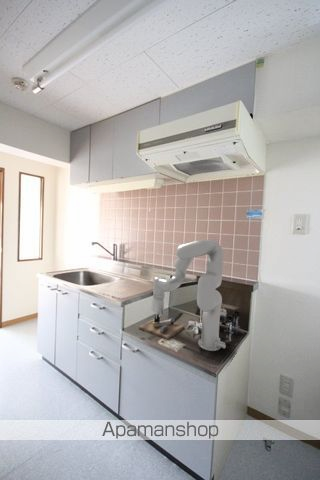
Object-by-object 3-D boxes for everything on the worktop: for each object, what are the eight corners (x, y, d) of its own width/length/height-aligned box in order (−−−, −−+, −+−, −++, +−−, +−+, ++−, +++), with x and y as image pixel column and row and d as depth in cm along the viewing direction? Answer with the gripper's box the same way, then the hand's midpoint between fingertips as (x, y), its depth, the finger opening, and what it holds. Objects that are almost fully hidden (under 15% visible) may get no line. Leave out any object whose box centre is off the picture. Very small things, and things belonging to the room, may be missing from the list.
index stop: (167, 332, 138) (167, 325, 138) (162, 335, 134) (163, 328, 134) (164, 331, 140) (165, 324, 139) (160, 334, 135) (160, 327, 135)
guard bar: (172, 322, 151) (172, 317, 150) (174, 323, 148) (174, 319, 148) (152, 326, 143) (152, 321, 143) (154, 328, 140) (154, 323, 140)
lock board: (183, 327, 146) (184, 325, 146) (167, 339, 130) (167, 337, 130) (157, 319, 159) (157, 316, 159) (138, 328, 143) (138, 326, 143)
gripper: (149, 292, 150) (147, 318, 151) (157, 299, 136) (155, 328, 138) (159, 291, 153) (157, 317, 154) (168, 299, 139) (166, 327, 141)
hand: (156, 322), depth 146 cm, fingers closed
